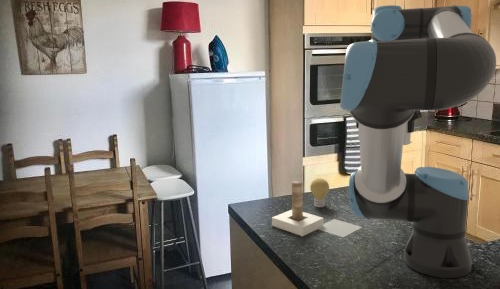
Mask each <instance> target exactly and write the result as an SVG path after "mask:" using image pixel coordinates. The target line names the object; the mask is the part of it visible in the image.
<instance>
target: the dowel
mask: <svg viewBox="0 0 500 289" xmlns="http://www.w3.org/2000/svg"><path fill="white" fill-rule="evenodd" d="M303 186H304V185H303V181H299V180H296V181H294V180H293V181H292V182H291V210H292V220H295V221H298V222H299V221H301V220H303V212H304V210H303V209H304V206H303V205H304V203H303V200H304V199H303V188H304V187H303Z"/></svg>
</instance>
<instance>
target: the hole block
mask: <svg viewBox="0 0 500 289" xmlns="http://www.w3.org/2000/svg"><path fill="white" fill-rule="evenodd" d="M324 224H325V222H324V217H321V216H319V215H314V214H311V213H308V212H304V211H303V220H301V221H299V222H298V221H295V220H292V209H290V210H287V211H284V212H282V213H279V214H277V215H275V216H272V217H271V225H272V227H275V228H277V229H281V230H284V231H287V232H290V233H292V234H294V235H297V236H301V237H304V236H307V235H308V234H310V233H312V232H314V231H317V230H319V228H321V227H323V226H324Z"/></svg>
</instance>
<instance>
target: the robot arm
mask: <svg viewBox="0 0 500 289" xmlns="http://www.w3.org/2000/svg"><path fill="white" fill-rule="evenodd" d="M372 10H373V11H372V18H371V22H370V32H371V39H370V40H365V41H357V42H353V43H351V44H349V45H348V46H347V48H346V50H345V55H344V56H345V57H344V67H343V75H342V85H341V94H340V103H339V104H340V105H339V107H340V108H341V109H342V110H345V111H347V112H349V113H350V115H351V117H352V118H353V120H355V122H356V124H355V125H356V126H355V127H356V129H358V137H357V138H358V141H359V157H360V159H359V160H360V161H359V164H360V167H358V169H357V170H354V171H352V172H351V173H350V176H349V180H348V197H349V206H350V211H351V212H352V215H354V216H355V217H357V218H362V219H366V220H385V221H394V222H396V221H397V222H398V221H399V222H407V223H408V222H410V223H412V231H411V234H410V235H409V238H408V241H407V242H406V245H405V248H404V250H403V252H404V253H403V260H404V263H405V265H407V266H408V267H409V268H411V269H412V270H414V271H415V272H417V273H421V274H423V275H426V276H430V277H434V278H435V277H436V278H443V279H454V278H461V277H465V276H467V275H469V273H471V271H472V264H473V260H472V256H471V252H470V249H469V247H468V246H469V245H468V243H467V239H466V228H467V217H468V215H467V214H468V204H469V203H468V201H469V199H470V196H469V182H468V180H467V179H466V177H464V176H463V175H462V174H460V173H457V172H455V171H452V170H449V169H445V168H440V167H434V166H433V167H432V166H419V167H416V168H415V171H414V173H405V172H404V170H403V169H402V159H403V147H404V146H407V145H410V144H411V138H412V137H411V134H412V133H414V131H415V121H416V120H418V119H421V118H422V117H423V114H422V112H421V111H443V110H448V109H453V108H455V107H458V106H461V105H464V104H465V103H467V102H469V101H471V100H473V99H474V98H476V97H477V96H478V95H480V93H482V92H483V91H484V90H485V88H486V87H487V86H488V85H489V84H490V82H491V80H492V79H493V76H494V75H495V72H496V67H497V56H496V53H495V50H494V48H493V46H492V45H491V44H490V43H489V41H488V40H487V39H486V38H485V37H483V36H481V35H479V34H478V33H474V32H472V30H471V29H472V28H471V27H472V10H471V8H470V7H469V6H467V5H450V6H435V7H424V8H423V7H421V8H420V7H419V8H418V7H417V8H402V7H401V6H400V5H396V4H395V5H394V4H393V5H390V4H389V5H381V6H377V7H375V8H374V9H372Z"/></svg>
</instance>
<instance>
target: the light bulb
mask: <svg viewBox="0 0 500 289" xmlns="http://www.w3.org/2000/svg"><path fill="white" fill-rule="evenodd" d="M309 188H310V192H311V193H312V195H313V196H314V197H313V198H314V199H313V200H314V201H313V202H314V203H313V205H314V207H316V208H324V207H325V206H326V195H328V193H329V190H330V184H329V183H328V181H327V180H326V179H323V178H320V177H319V178H314V180H312V182H311V183H310V186H309Z"/></svg>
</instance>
